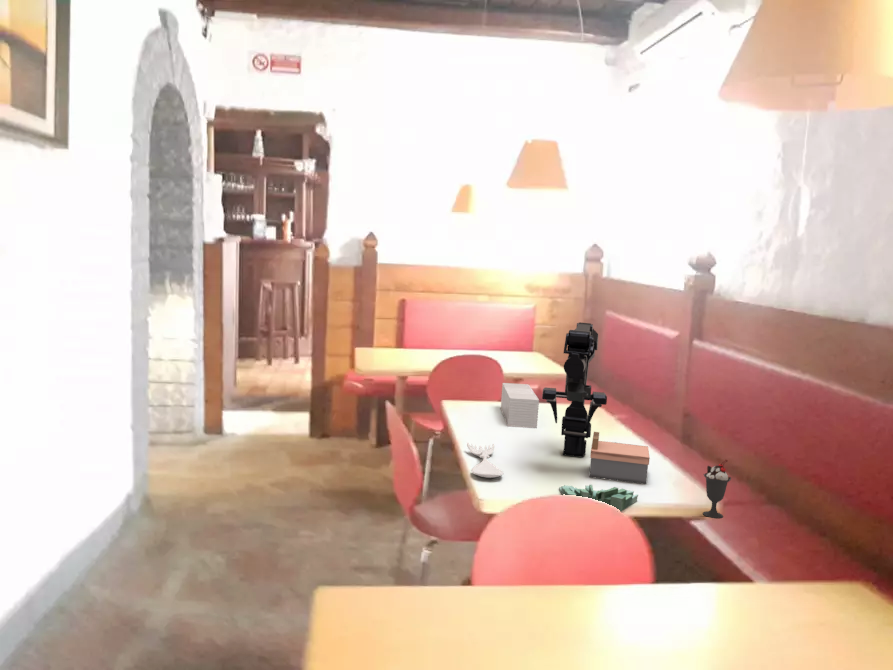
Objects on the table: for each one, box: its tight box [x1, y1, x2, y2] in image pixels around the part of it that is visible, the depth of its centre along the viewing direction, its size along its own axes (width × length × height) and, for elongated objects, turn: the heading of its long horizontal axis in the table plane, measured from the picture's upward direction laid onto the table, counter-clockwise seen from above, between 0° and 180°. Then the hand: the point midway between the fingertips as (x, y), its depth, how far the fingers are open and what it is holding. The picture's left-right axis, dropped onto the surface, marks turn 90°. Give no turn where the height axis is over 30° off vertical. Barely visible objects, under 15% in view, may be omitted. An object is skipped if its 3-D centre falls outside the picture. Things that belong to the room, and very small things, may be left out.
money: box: [558, 484, 639, 512], centre depth 204 cm, size 20×16×5 cm
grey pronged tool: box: [466, 442, 504, 479], centre depth 230 cm, size 9×32×3 cm, turn 2°
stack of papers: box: [500, 382, 540, 429], centre depth 299 cm, size 32×11×11 cm, turn 1°
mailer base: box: [589, 458, 649, 485], centre depth 229 cm, size 16×12×7 cm
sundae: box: [702, 459, 732, 520], centre depth 198 cm, size 7×7×15 cm
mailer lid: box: [589, 431, 651, 466], centre depth 229 cm, size 16×14×5 cm
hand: (571, 424), depth 232 cm, fingers open, 9 cm apart
